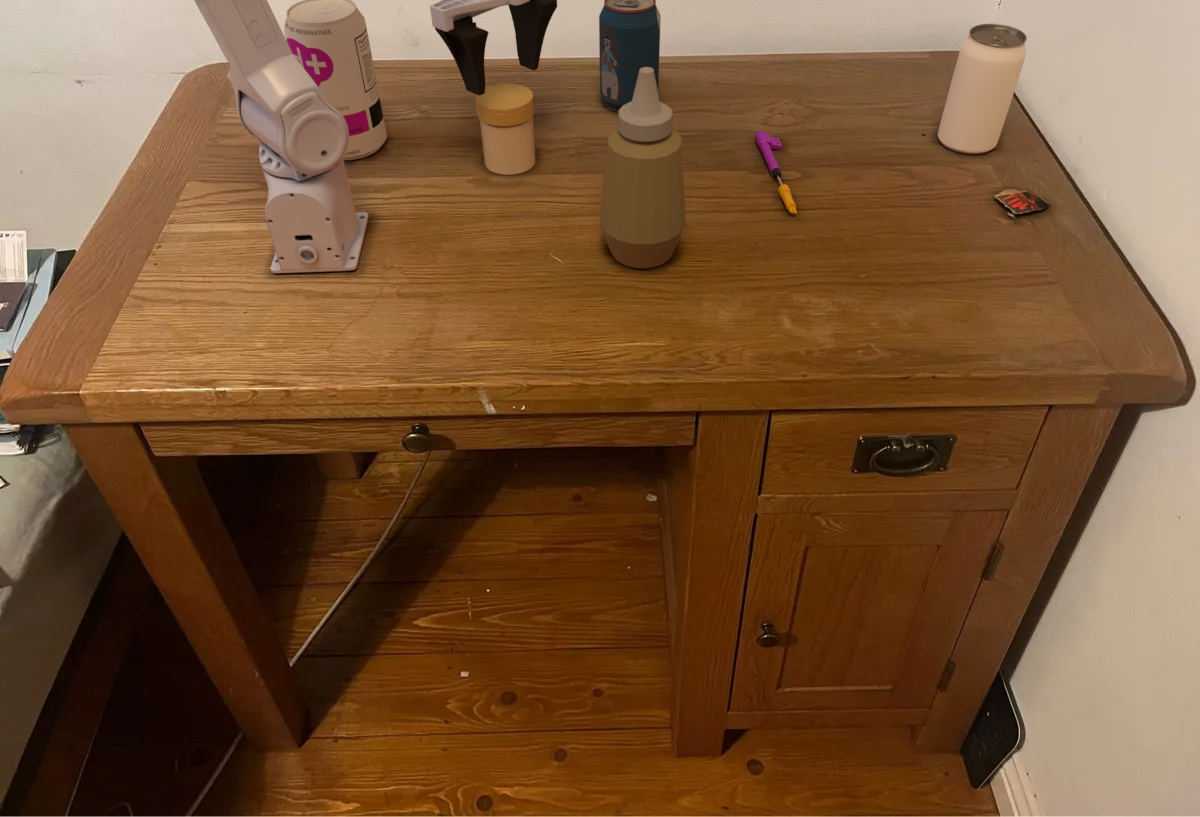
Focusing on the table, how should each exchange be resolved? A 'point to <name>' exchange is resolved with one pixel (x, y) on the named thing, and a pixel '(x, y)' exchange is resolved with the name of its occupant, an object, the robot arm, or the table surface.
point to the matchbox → (1021, 201)
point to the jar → (508, 147)
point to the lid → (505, 104)
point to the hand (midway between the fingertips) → (502, 79)
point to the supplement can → (340, 67)
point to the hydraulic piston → (775, 166)
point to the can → (982, 88)
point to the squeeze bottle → (643, 181)
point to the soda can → (627, 47)
